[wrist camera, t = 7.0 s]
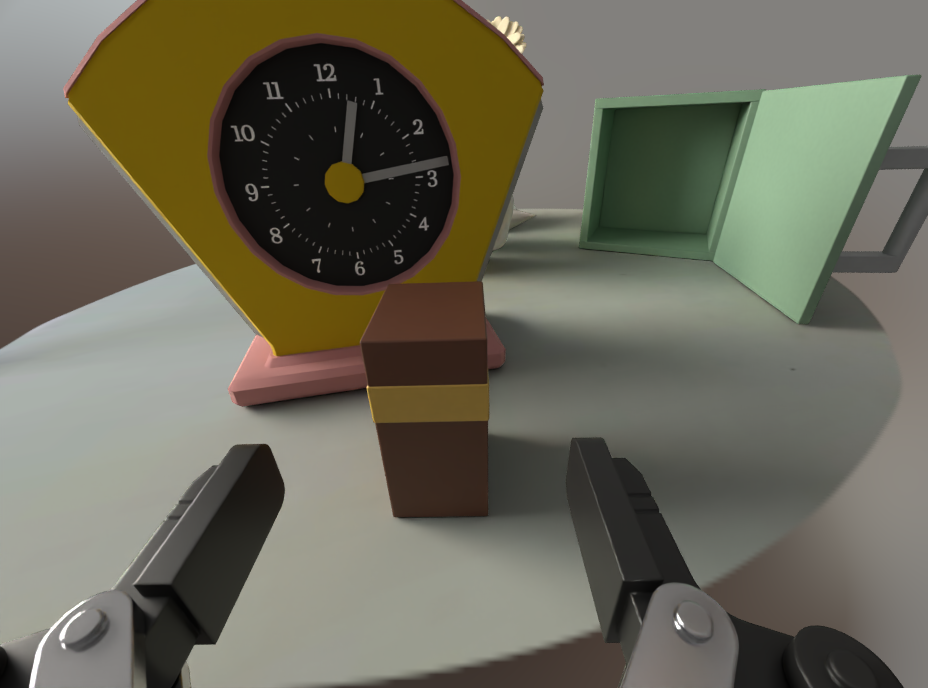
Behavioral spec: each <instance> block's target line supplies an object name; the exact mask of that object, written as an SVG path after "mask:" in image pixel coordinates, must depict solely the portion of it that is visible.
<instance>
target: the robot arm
mask: <svg viewBox="0 0 928 688" xmlns="http://www.w3.org/2000/svg"><path fill="white" fill-rule="evenodd" d="M284 494H285V487H284V482H283V479H282V477H281V474H280V471H279V469H278V466H277V464H276V461H275V459H274V456H273V454H272V451H271V449H270V447H269V446H268V445H267V444H242V445H235V446H233V447H232V448H231V449H230V450H229V452H228V453H227V454H226V456H225V457H224V459H223V460H222V461H221V463H220V464H219V465H216V466H212V467H210V468H209V469H208V470H207V471H206V472H204V473H203V474H202V475H201V476H199V477H198V478H197V479H196V480H194V481H193V482H192V484H191V485H190V486H189V488H188V489H187V490H186V492H185V493H184V494H183V495H182V497H181V498H180V499H179V503H178V504H176V505H175V506H174V507H173V509H172V510H171V511H170V513H169V514H168V515H167V519H166V521H163V522H162V523H161V525H160V526H159V527H158V529H157V530H156V531H155V532H154V534H153V535H152V536H151V538H150V539H149V540H148V542H147V543H146V544H145V546H144V547H143V548H142V550H141V551H140V552H139V554H138V555H137V556H136V558H135V559H134V560H133V562H132V563H131V564H130V566H129V567H128V568H127V569H126V571H125V572H124V573H123V575H122V576H121V577H120V579H119V580H118V581H117V583H116V584H115V585H114V586H113V587H112V589H111V590H110V591H105V592H102V593H99V594H96V595H94V596H92V597H90V598H88V599H86V600H84V601H82V602H81V603H79V604H78V605H76V606H75V607H73V608H72V609H71V610H69V611H68V612H67V613H66V614H64V615H63V616H62V617H61V618H60V619H59V620H58V621H57V622H56V623H55V624H54V625H53V626H52V627H51V628H49V629H46V630H43V631H40V632H37V633H34V634H31V635H27V636H24V637H21V638H18V639H15V640H12V641H9V642H6V643H3V644H0V688H191V682H190V672H189V666H188V663H187V661H186V660H187V658H188V656H189V654H190V652H191V650H192V648H193V646H194V645H210V644H216V642H217V640H218V638H219V636H220V634H221V632H222V630H223V628H224V626H225V624H226V621H227V619H228V617H229V615H230V613H231V611H232V609H233V607H234V605H235V603H236V601H237V599H238V596H239V594H240V592H241V590H242V588H243V586H244V584H245V582H246V580H247V578H248V576H249V573H250V571H251V569H252V567H253V565H254V563H255V561H256V559H257V557H258V555H259V553H260V551H261V548H262V546H263V544H264V542H265V540H266V538H267V536H268V534H269V532H270V530H271V528H272V526H273V523H274V521H275V519H276V517H277V515H278V513H279V511H280V509H281V507H282V504H283V500H284ZM566 494H567V500H568V504H569V508H570V512H571V516H572V520H573V523H574V527H575V531H576V535H577V539H578V542H579V546H580V550H581V554H582V558H583V561H584V565H585V569H586V573H587V577H588V580H589V584H590V588H591V592H592V596H593V599H594V603H595V607H596V611H597V615H598V619H599V622H600V626H601V630H602V634H603V638H604V641H605V643H620V644H621V647H622V651H623V654H624V657H625V660H626V666H625V669H624V671H623V674H622V677H621V680H620V683H619V686H618V688H903V686H902V684H901V683H900V682H899V680H898V679H897V678H896V676H895V675H894V674H893V673H892V671H891V670H890V669H889V668H888V667H887V666H886V664H885V663H884V662H883V661H882V660H881V659H880V658H879V657H878V656H876V655H875V654H874V653H873V652H872V651H871V650H869V649H868V648H867V647H865V646H864V645H863V644H861V643H860V642H858V641H857V640H855V639H854V638H852V637H850V636H848V635H846V634H845V633H842V632H840V631H837V630H835V629H832V628H828V627H825V626H808V627H805V628H803V629H802V630H800V631H799V632H798V634H797V635H796V636H795V637H793V636H790V635H787V634H783V633H780V632H777V631H774V630H771V629H768V628H765V627H762V626H758V625H755V624H752V623H749V622H746V621H744V620H741V619H738V618H736V617H734V616H732V615H730V614H729V613H727V612H726V611H724V609H723V608H722V607H721V606H720V605H719V604H718V603H717V602H716V601H715V600H714V599H713V598H711V597H710V596H709V595H708V594H706V593H705V592H703V591H702V590H701V589H700V588H699V586H698V585H697V584H696V582H695V580H694V579H693V577H692V575H691V573H690V571H689V569H688V567H687V565H686V563H685V561H684V559H683V557H682V555H681V553H680V551H679V549H678V547H677V545H676V543H675V541H674V539H673V536H672V534H671V532H670V530H669V528H668V526H667V524H666V522H665V520H664V518H663V516H662V514H661V513H659V508H658V506H657V504H656V502H655V500H654V498H653V497H652V496H651V492H650V490H649V488H648V486H647V484H646V482H645V480H644V478H643V475H642V474H641V473H640V472H639V471H638V470H637V469H636V468H635V467H634V466H633V465H632V464H631V463H630V462H629V461H628V460H627V459H626V458H612V457H611V454H610V452H609V450H608V447H607V445H606V443H605V441H604V439H603V438H601V437H593V438H572V440H571V444H570V451H569V458H568V466H567V473H566Z"/></svg>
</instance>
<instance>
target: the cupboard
mask: <svg viewBox="0 0 928 688" xmlns="http://www.w3.org/2000/svg"><path fill="white" fill-rule="evenodd" d="M763 91H766V90H765V89H761V90H744V91H727V92H708V93H693V94H674V95H656V96H638V97H620V98H603V99H596V101H595V111H594V119H593V128H592V136H591V145H590V154H589V164H588V173H587V181H586V190H585V199H584V208H583V216H582V225H581V234H580V243H579V248H582V249H593V250H603V251H614V252H624V253H635V254H645V255H656V256H666V257H676V258H687V259H697V260H708V261H713V260H714V256H715V253H716V249H717V246H718V243H719V239H720V236H721V232H722V229H723V225H724V222H725V219H726V215H727V212H728V208H729V205H730V201H731V198H732V195H733V191H734V188H735V184H736V181H737V177H738V174H739V171H740V167H741V164H742V160H743V157H744V153H745V150H746V147H747V143H748V140H749V136H750V133H751V129H752V126H753V123H754V119H755V116H756V112H757V109H758V105H759V102H760V99H761V95H762V92H763Z"/></svg>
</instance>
